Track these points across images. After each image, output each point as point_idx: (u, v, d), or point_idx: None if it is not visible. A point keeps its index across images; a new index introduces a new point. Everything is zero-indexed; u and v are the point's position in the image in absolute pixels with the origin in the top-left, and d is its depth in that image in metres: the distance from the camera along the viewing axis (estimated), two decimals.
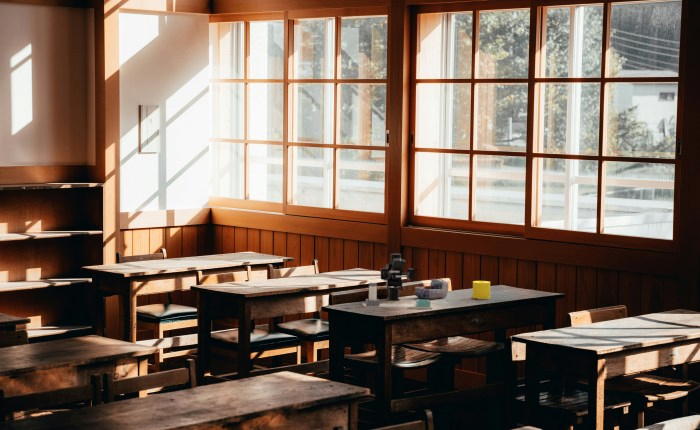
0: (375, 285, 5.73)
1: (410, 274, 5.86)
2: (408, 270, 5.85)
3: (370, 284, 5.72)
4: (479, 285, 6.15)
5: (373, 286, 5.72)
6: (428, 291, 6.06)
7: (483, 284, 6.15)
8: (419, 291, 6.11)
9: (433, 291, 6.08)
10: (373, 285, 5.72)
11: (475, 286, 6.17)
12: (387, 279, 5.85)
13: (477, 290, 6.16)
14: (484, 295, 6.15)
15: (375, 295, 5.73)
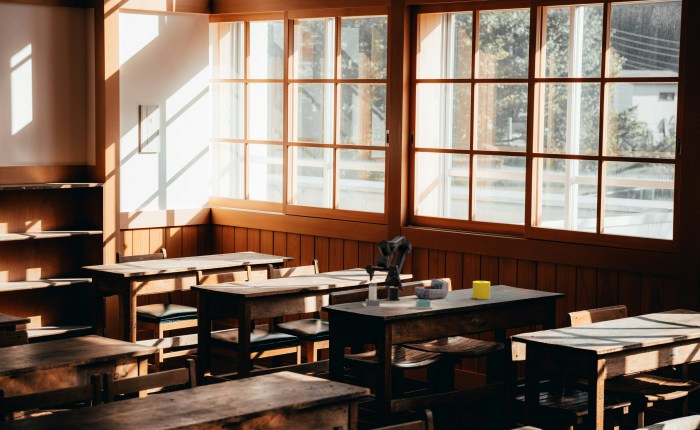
0: (375, 285, 5.73)
1: (393, 273, 5.81)
2: (389, 270, 5.80)
3: (370, 284, 5.72)
4: (479, 285, 6.15)
5: (373, 286, 5.72)
6: (428, 291, 6.06)
7: (483, 284, 6.15)
8: (419, 291, 6.11)
9: (433, 291, 6.08)
10: (373, 285, 5.72)
11: (475, 286, 6.17)
12: None
13: (477, 290, 6.16)
14: (484, 295, 6.15)
15: (375, 295, 5.73)
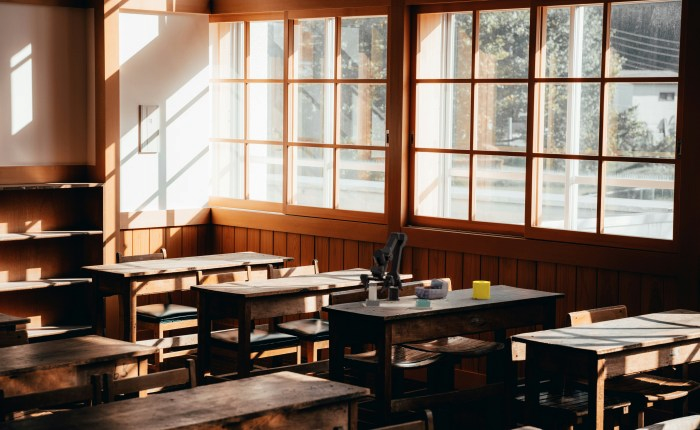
0: (375, 285, 5.73)
1: (388, 283, 5.75)
2: (384, 280, 5.74)
3: (370, 284, 5.72)
4: (479, 285, 6.15)
5: (373, 286, 5.72)
6: (428, 291, 6.06)
7: (483, 284, 6.15)
8: (419, 291, 6.11)
9: (433, 291, 6.08)
10: (373, 285, 5.72)
11: (475, 286, 6.17)
12: None
13: (477, 290, 6.16)
14: (484, 295, 6.15)
15: (375, 295, 5.73)
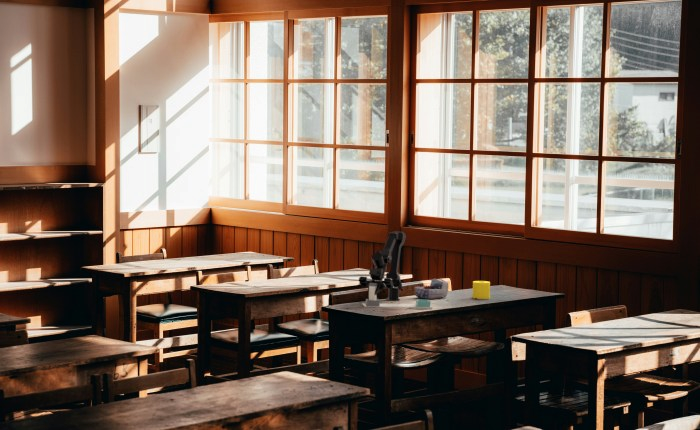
0: (375, 285, 5.73)
1: (382, 285, 5.75)
2: (378, 283, 5.73)
3: (370, 284, 5.72)
4: (479, 285, 6.15)
5: (373, 286, 5.72)
6: (428, 291, 6.06)
7: (483, 284, 6.15)
8: (419, 291, 6.11)
9: (433, 291, 6.08)
10: (373, 285, 5.72)
11: (475, 286, 6.17)
12: None
13: (477, 290, 6.16)
14: (484, 295, 6.15)
15: (375, 295, 5.73)
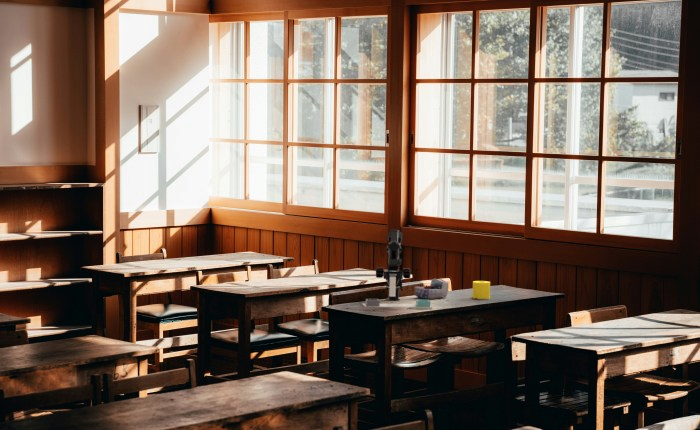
0: (395, 276, 5.70)
1: (400, 275, 5.74)
2: (398, 273, 5.72)
3: (391, 275, 5.69)
4: (479, 285, 6.15)
5: (394, 277, 5.69)
6: (428, 291, 6.07)
7: (483, 284, 6.15)
8: (419, 291, 6.11)
9: (433, 291, 6.08)
10: (394, 276, 5.69)
11: (475, 286, 6.17)
12: None
13: (477, 290, 6.16)
14: (484, 295, 6.15)
15: (395, 286, 5.71)
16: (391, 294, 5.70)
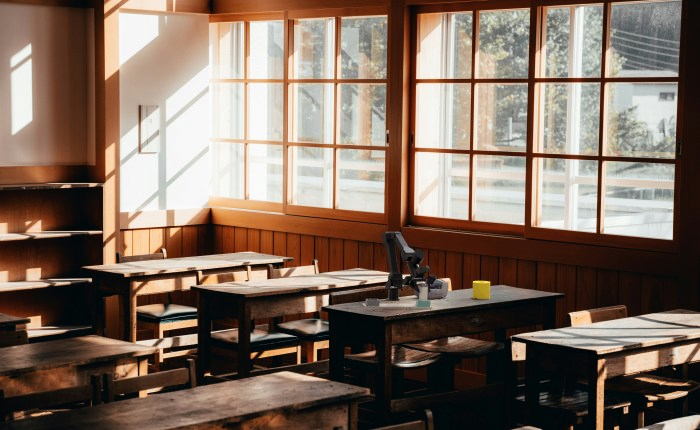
0: None
1: (429, 282, 5.80)
2: (429, 280, 5.77)
3: (423, 285, 5.73)
4: (479, 285, 6.15)
5: (426, 287, 5.73)
6: None
7: (483, 284, 6.15)
8: None
9: (432, 291, 6.08)
10: (426, 286, 5.73)
11: (475, 286, 6.17)
12: None
13: (477, 290, 6.16)
14: (484, 295, 6.15)
15: None
16: None
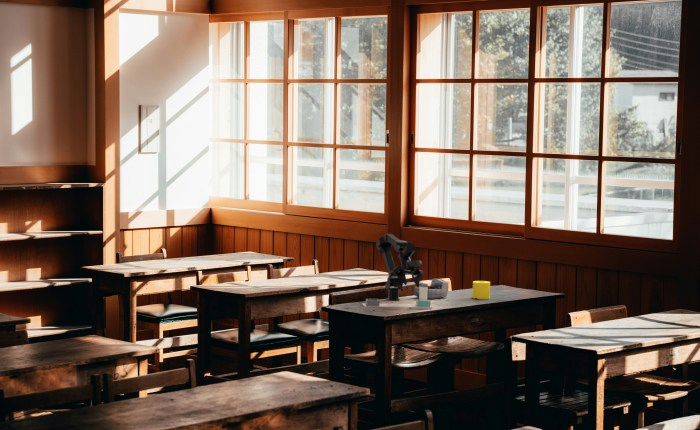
0: None
1: None
2: (419, 275, 5.87)
3: (423, 285, 5.73)
4: (479, 285, 6.15)
5: (426, 287, 5.73)
6: None
7: (483, 284, 6.15)
8: None
9: (432, 291, 6.09)
10: (426, 286, 5.73)
11: (475, 286, 6.17)
12: None
13: (477, 290, 6.16)
14: (484, 295, 6.15)
15: None
16: None
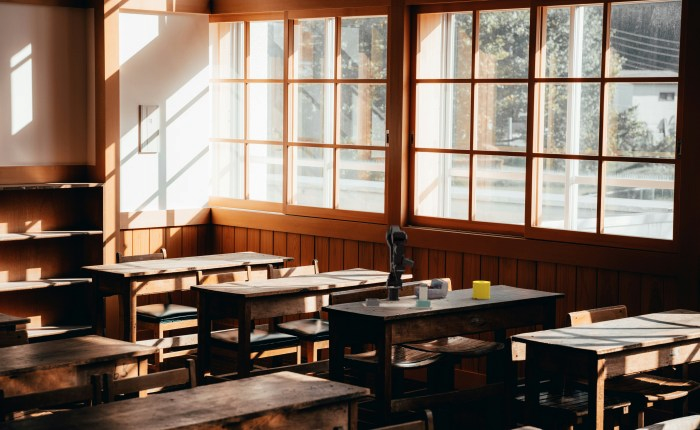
0: None
1: None
2: None
3: (423, 285, 5.73)
4: (479, 285, 6.15)
5: (426, 287, 5.73)
6: None
7: (483, 284, 6.15)
8: (418, 291, 6.12)
9: (432, 291, 6.09)
10: (426, 286, 5.73)
11: (475, 286, 6.17)
12: (394, 271, 5.80)
13: (477, 290, 6.16)
14: (484, 295, 6.15)
15: None
16: None
